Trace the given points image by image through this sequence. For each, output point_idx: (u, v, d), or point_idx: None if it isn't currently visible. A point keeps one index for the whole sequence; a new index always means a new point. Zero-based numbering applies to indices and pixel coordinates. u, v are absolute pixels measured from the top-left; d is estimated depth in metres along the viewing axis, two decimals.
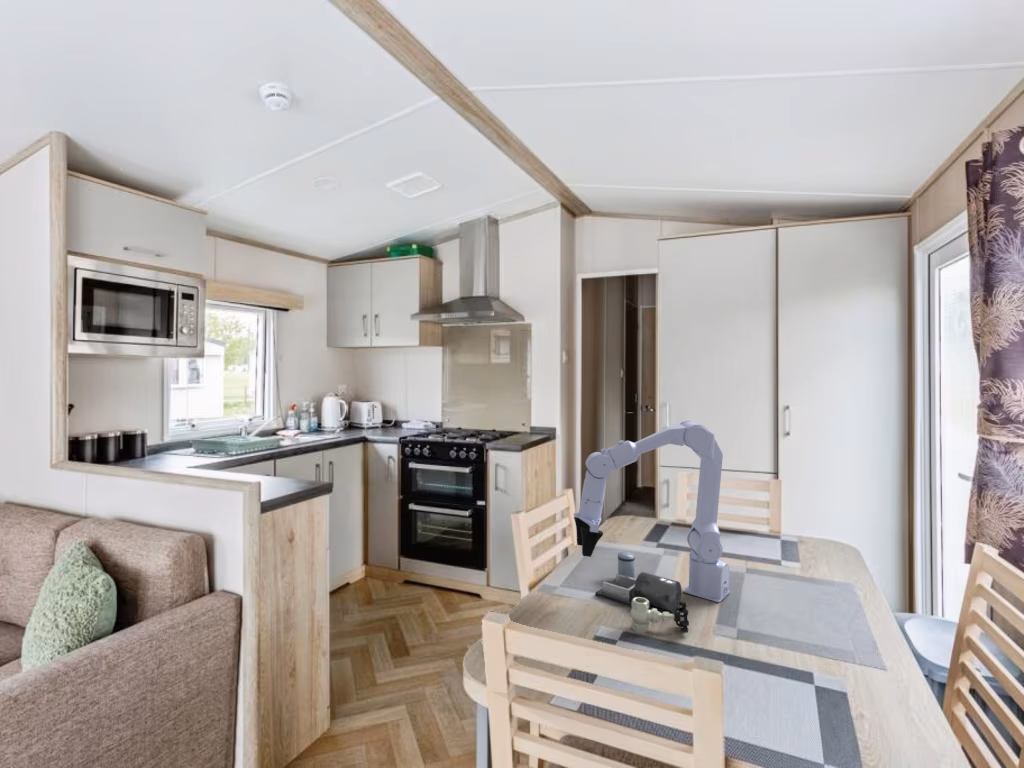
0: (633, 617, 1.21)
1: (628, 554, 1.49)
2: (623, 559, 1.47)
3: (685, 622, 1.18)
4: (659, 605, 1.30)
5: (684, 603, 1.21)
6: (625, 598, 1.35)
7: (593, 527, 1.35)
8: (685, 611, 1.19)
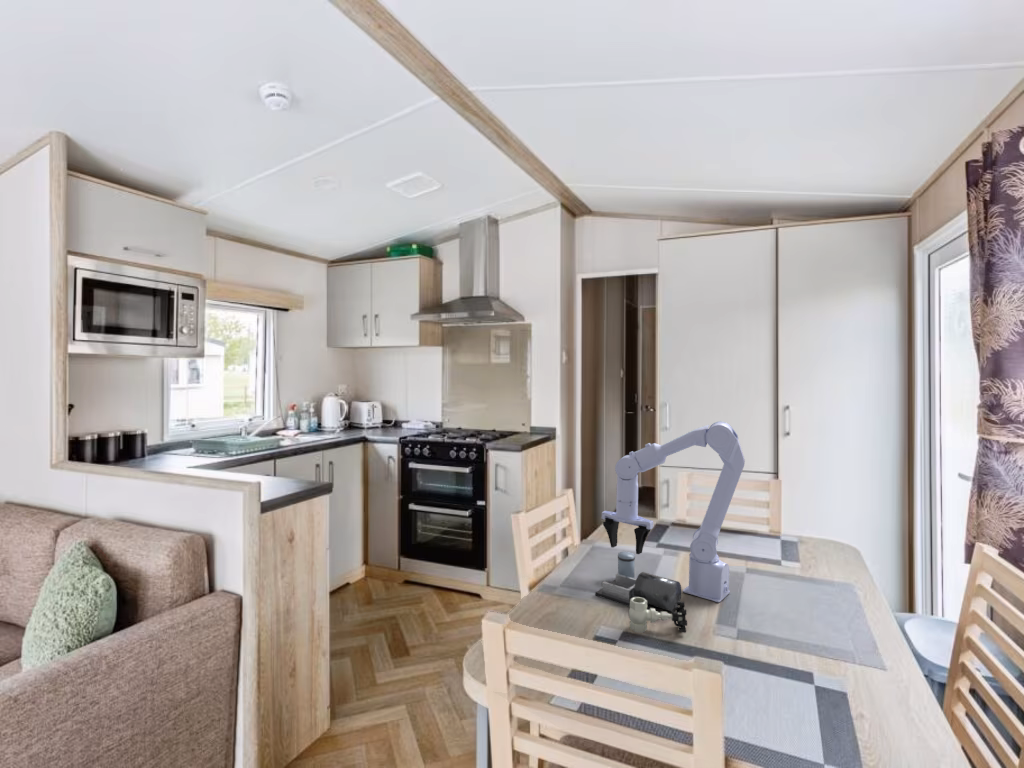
0: (631, 617, 1.21)
1: (628, 554, 1.49)
2: (623, 559, 1.47)
3: (683, 622, 1.18)
4: (659, 605, 1.30)
5: (682, 603, 1.21)
6: (625, 598, 1.35)
7: (650, 524, 1.44)
8: (683, 611, 1.19)
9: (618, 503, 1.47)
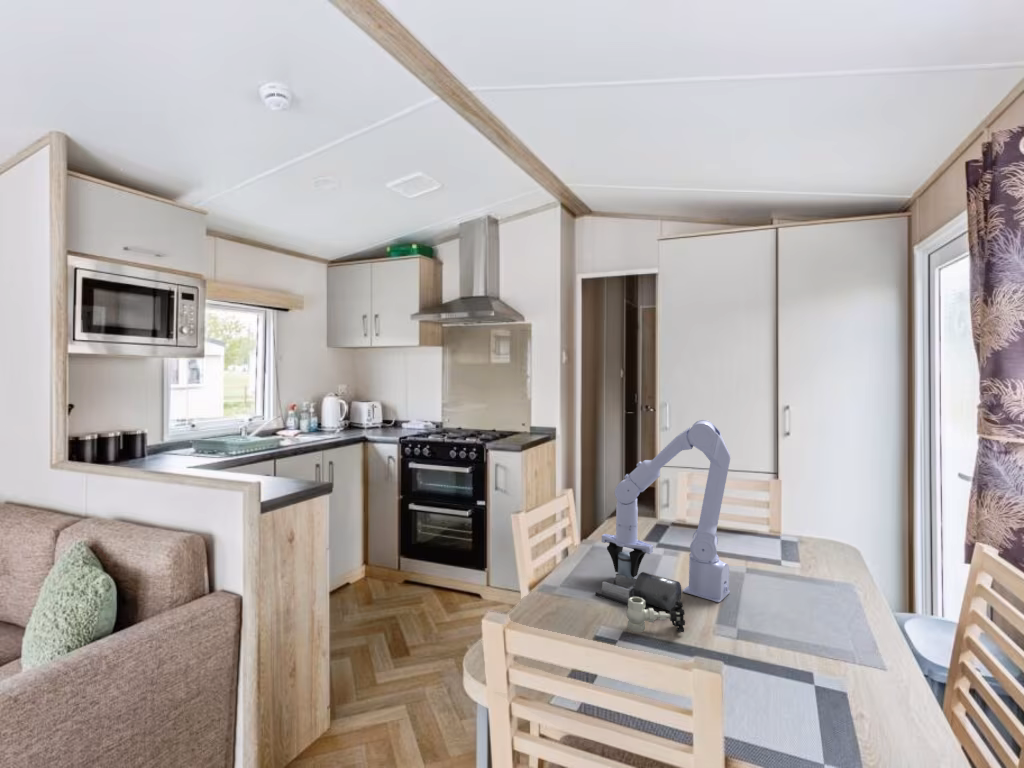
0: (629, 617, 1.21)
1: (628, 554, 1.49)
2: (623, 559, 1.47)
3: (681, 622, 1.18)
4: (659, 605, 1.30)
5: (680, 603, 1.21)
6: (625, 598, 1.35)
7: (650, 549, 1.44)
8: (681, 611, 1.19)
9: (618, 527, 1.48)
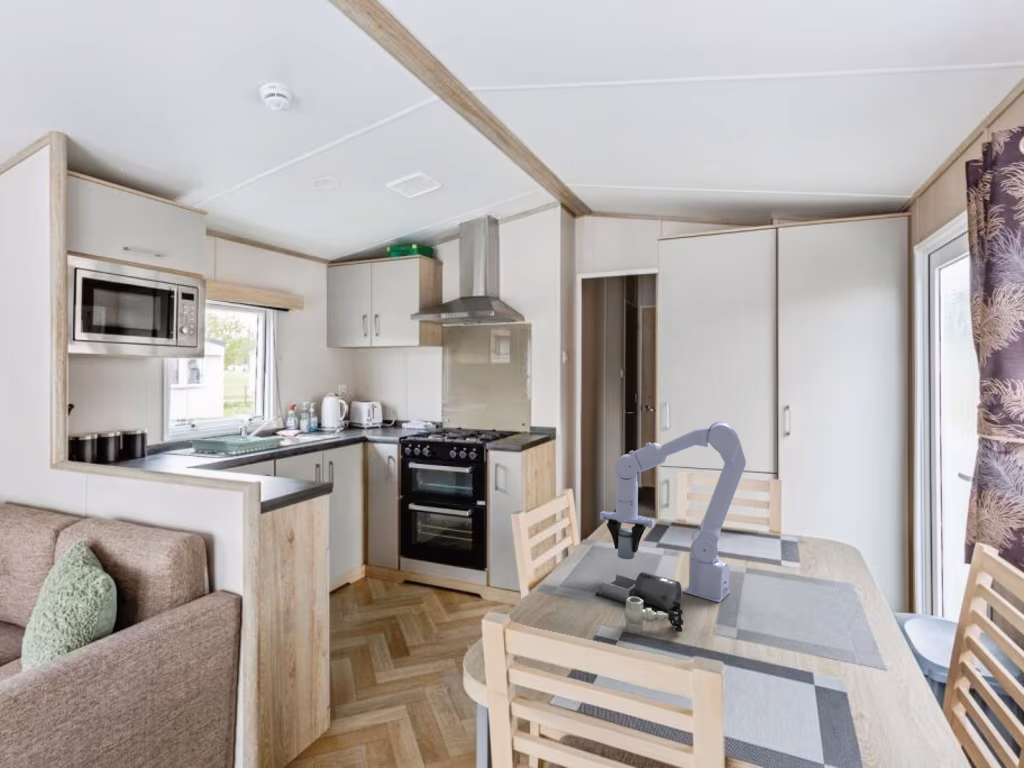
0: (627, 617, 1.21)
1: (628, 530, 1.48)
2: (624, 535, 1.46)
3: (679, 621, 1.19)
4: (659, 605, 1.30)
5: (678, 602, 1.21)
6: (625, 598, 1.35)
7: (652, 523, 1.43)
8: (679, 610, 1.19)
9: (619, 503, 1.46)
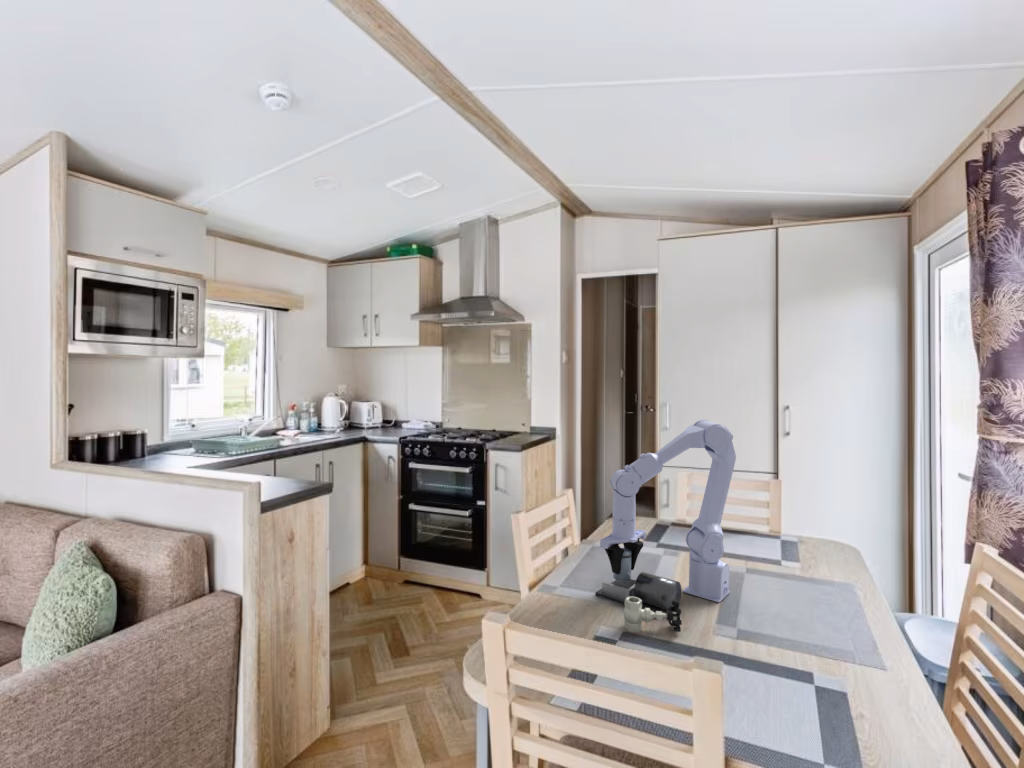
0: (626, 616, 1.21)
1: None
2: (629, 555, 1.38)
3: (678, 621, 1.19)
4: (659, 605, 1.30)
5: (677, 602, 1.21)
6: (625, 598, 1.35)
7: None
8: (678, 610, 1.19)
9: (628, 523, 1.36)
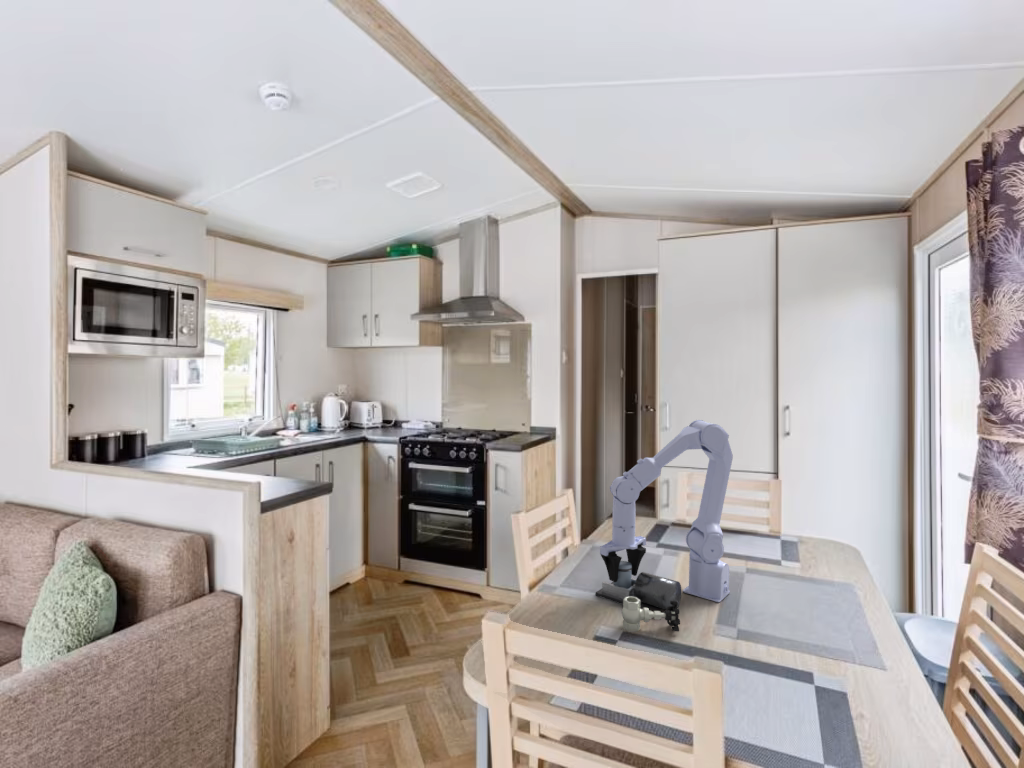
0: (624, 616, 1.21)
1: (623, 563, 1.40)
2: (629, 569, 1.38)
3: (676, 621, 1.19)
4: (659, 605, 1.30)
5: (675, 602, 1.21)
6: None
7: None
8: (676, 610, 1.19)
9: (627, 530, 1.36)
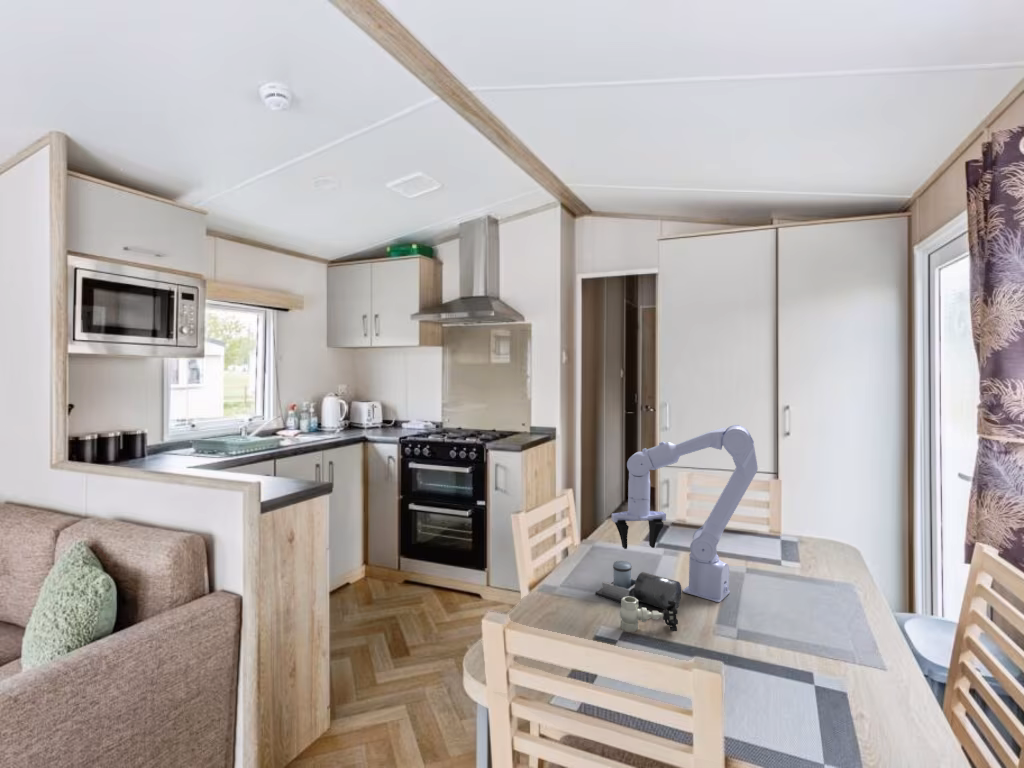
0: (622, 616, 1.21)
1: (622, 563, 1.41)
2: (629, 569, 1.38)
3: (674, 621, 1.19)
4: (659, 605, 1.30)
5: (673, 602, 1.21)
6: None
7: None
8: (674, 610, 1.20)
9: (638, 501, 1.45)
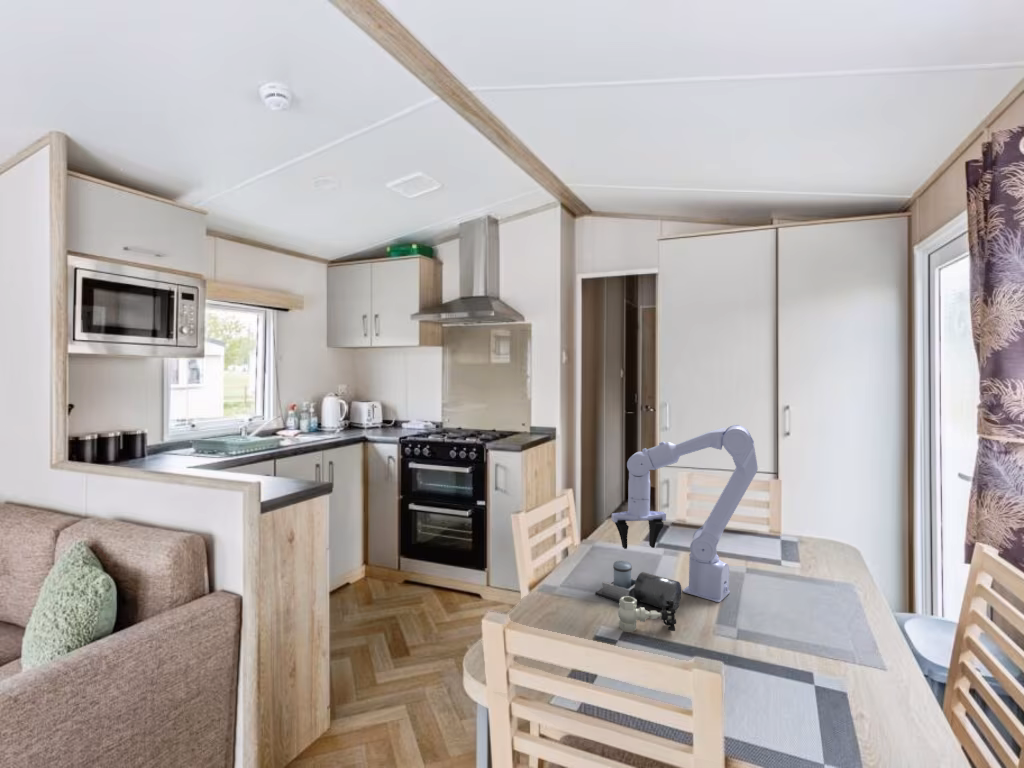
0: (621, 616, 1.22)
1: (622, 563, 1.40)
2: (629, 569, 1.38)
3: (672, 620, 1.19)
4: (659, 605, 1.30)
5: (671, 602, 1.22)
6: None
7: None
8: (672, 610, 1.20)
9: (638, 501, 1.45)
